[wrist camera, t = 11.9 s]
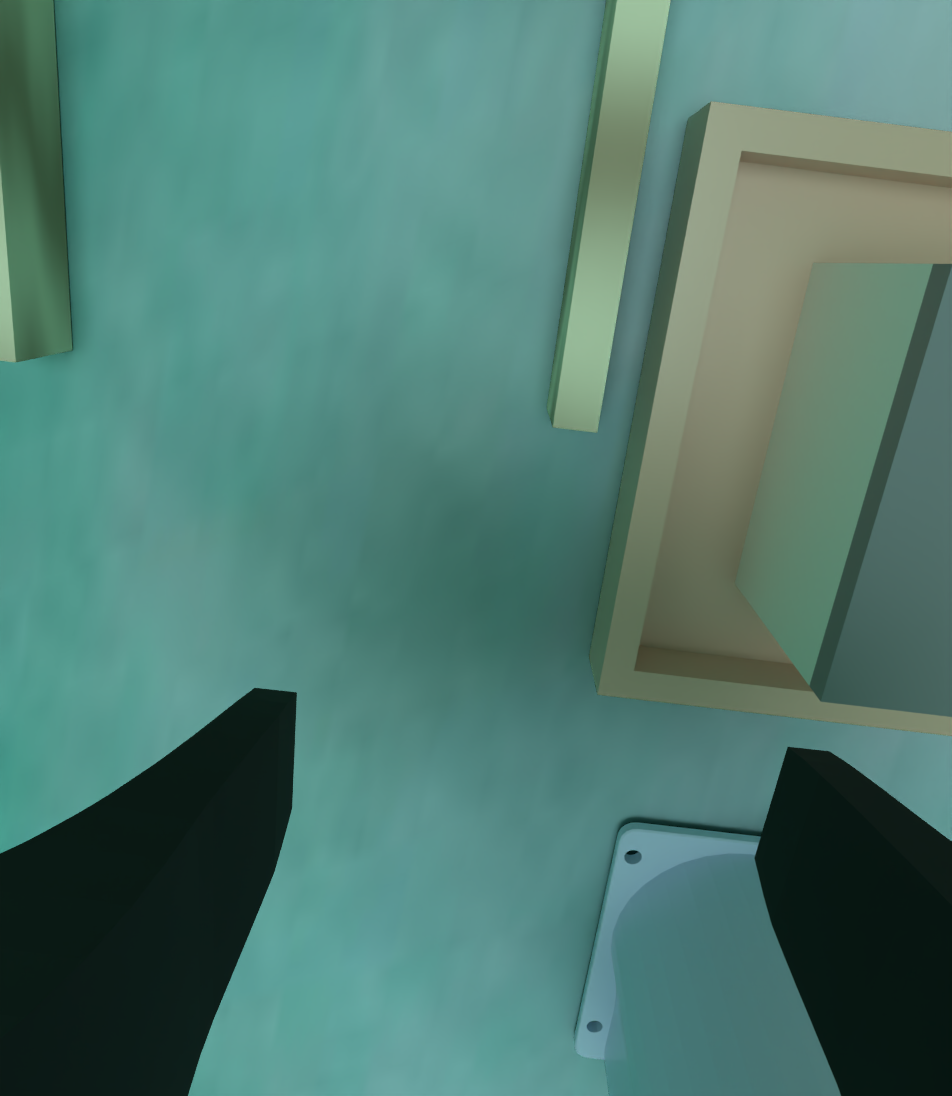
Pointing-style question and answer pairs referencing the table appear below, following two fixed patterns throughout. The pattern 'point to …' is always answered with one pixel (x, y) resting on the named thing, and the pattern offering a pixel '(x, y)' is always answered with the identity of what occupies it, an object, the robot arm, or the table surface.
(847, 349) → the grey-green upright block
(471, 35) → the table surface
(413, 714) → the table surface
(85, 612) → the table surface
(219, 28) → the table surface
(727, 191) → the tray
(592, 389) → the bay
